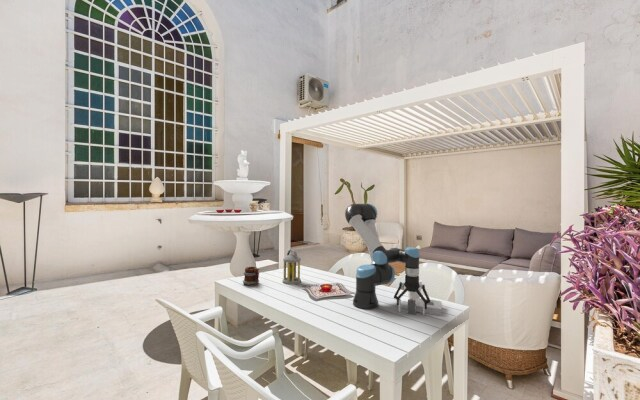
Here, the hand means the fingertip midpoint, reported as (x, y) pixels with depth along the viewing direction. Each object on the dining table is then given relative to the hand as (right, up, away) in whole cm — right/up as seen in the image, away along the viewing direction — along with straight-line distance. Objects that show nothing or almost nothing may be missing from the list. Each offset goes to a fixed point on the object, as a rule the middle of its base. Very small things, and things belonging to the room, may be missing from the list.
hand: (411, 312), depth 171 cm
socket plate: (+12, 0, +6) cm, 13 cm away
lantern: (-74, +1, +60) cm, 95 cm away
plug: (0, 0, 0) cm, 0 cm away
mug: (-102, +1, +53) cm, 115 cm away
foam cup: (+8, 0, +22) cm, 23 cm away
